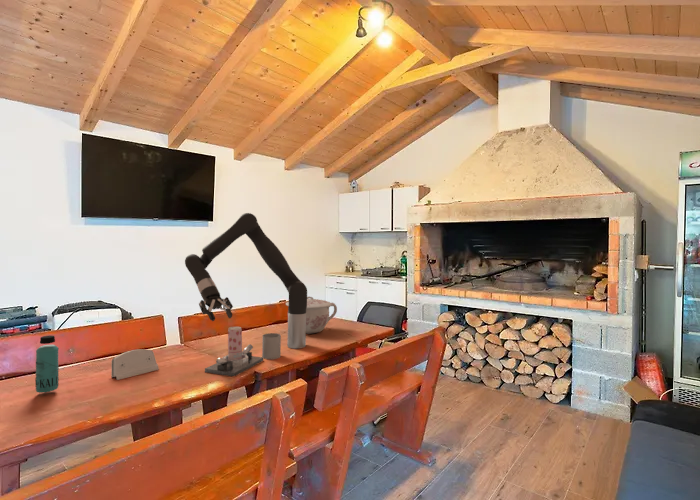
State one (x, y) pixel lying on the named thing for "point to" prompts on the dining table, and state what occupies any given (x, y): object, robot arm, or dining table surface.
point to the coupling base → (234, 369)
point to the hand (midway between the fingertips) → (222, 318)
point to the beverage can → (235, 343)
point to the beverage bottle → (46, 366)
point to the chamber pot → (317, 314)
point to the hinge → (133, 363)
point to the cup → (271, 346)
